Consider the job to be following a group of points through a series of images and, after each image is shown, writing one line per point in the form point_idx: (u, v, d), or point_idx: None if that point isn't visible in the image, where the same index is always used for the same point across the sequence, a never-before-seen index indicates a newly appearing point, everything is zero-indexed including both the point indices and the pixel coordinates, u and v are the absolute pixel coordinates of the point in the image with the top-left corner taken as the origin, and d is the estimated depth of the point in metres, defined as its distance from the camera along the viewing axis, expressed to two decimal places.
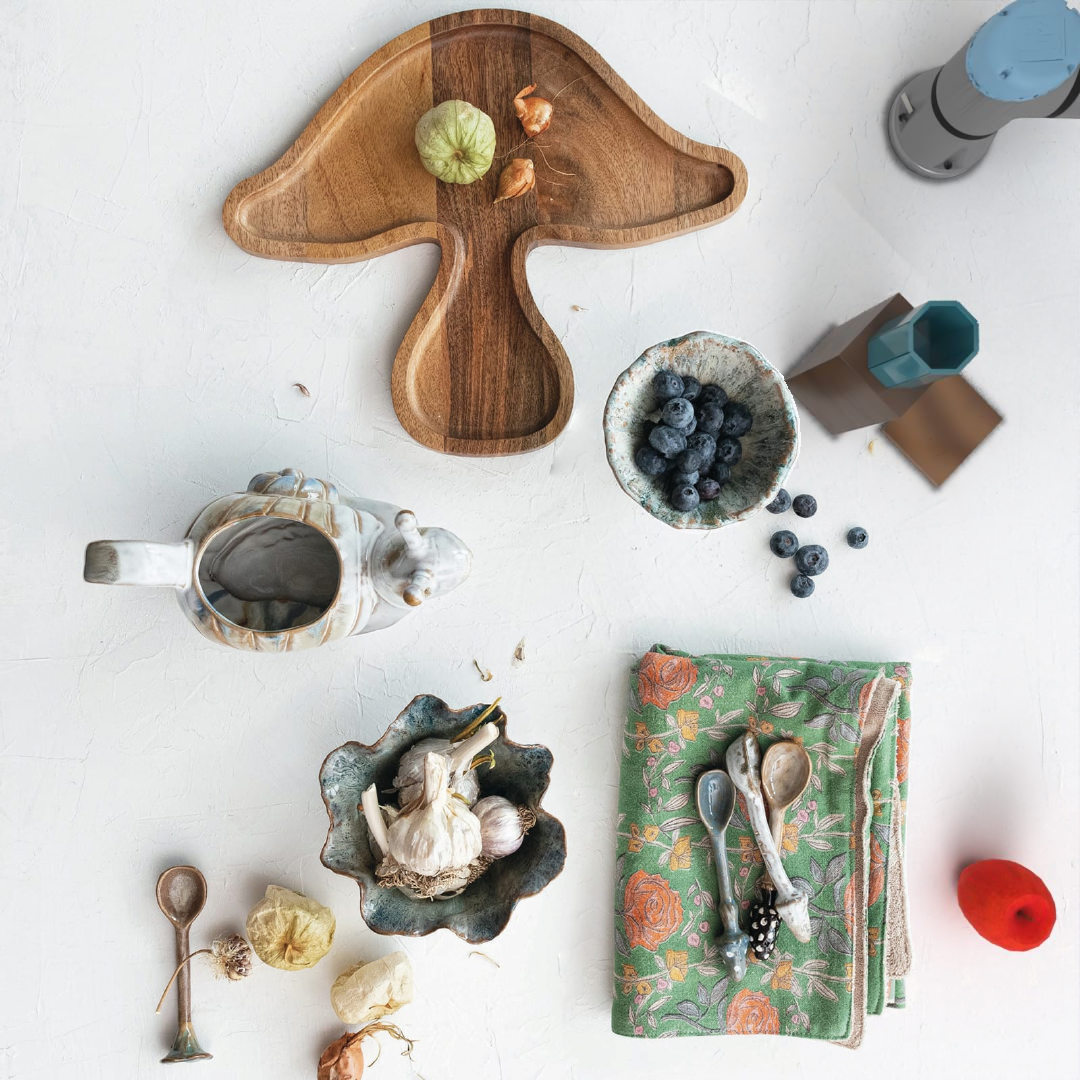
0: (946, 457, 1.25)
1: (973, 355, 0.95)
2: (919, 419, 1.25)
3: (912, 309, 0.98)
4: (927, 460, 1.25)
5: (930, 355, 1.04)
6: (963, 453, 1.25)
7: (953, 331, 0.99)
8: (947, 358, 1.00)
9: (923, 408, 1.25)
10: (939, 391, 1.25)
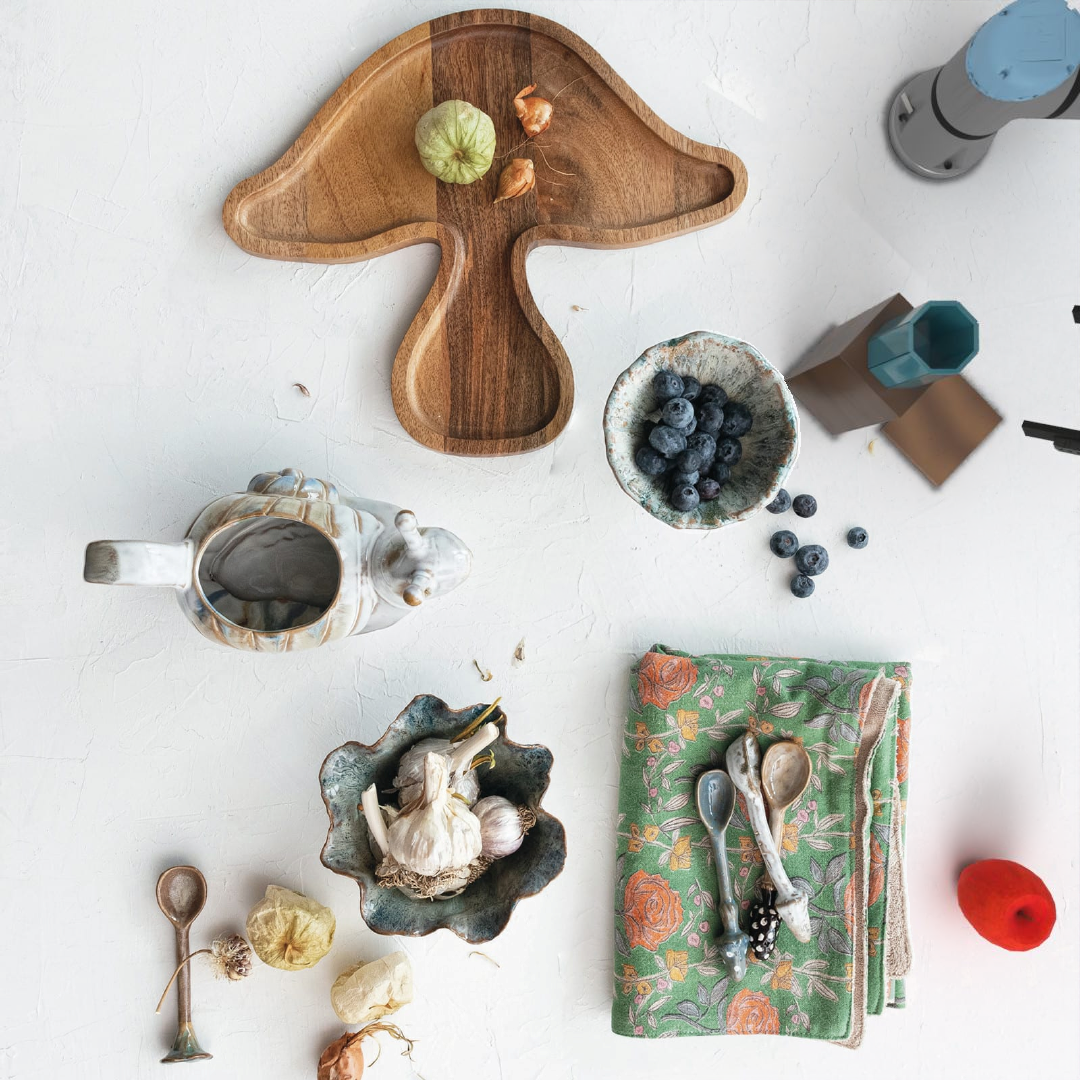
0: (946, 457, 1.25)
1: (973, 355, 0.95)
2: (919, 419, 1.25)
3: (912, 309, 0.98)
4: (927, 460, 1.25)
5: (930, 355, 1.04)
6: (963, 453, 1.25)
7: (953, 331, 0.99)
8: (947, 358, 1.00)
9: (923, 408, 1.25)
10: (939, 391, 1.25)
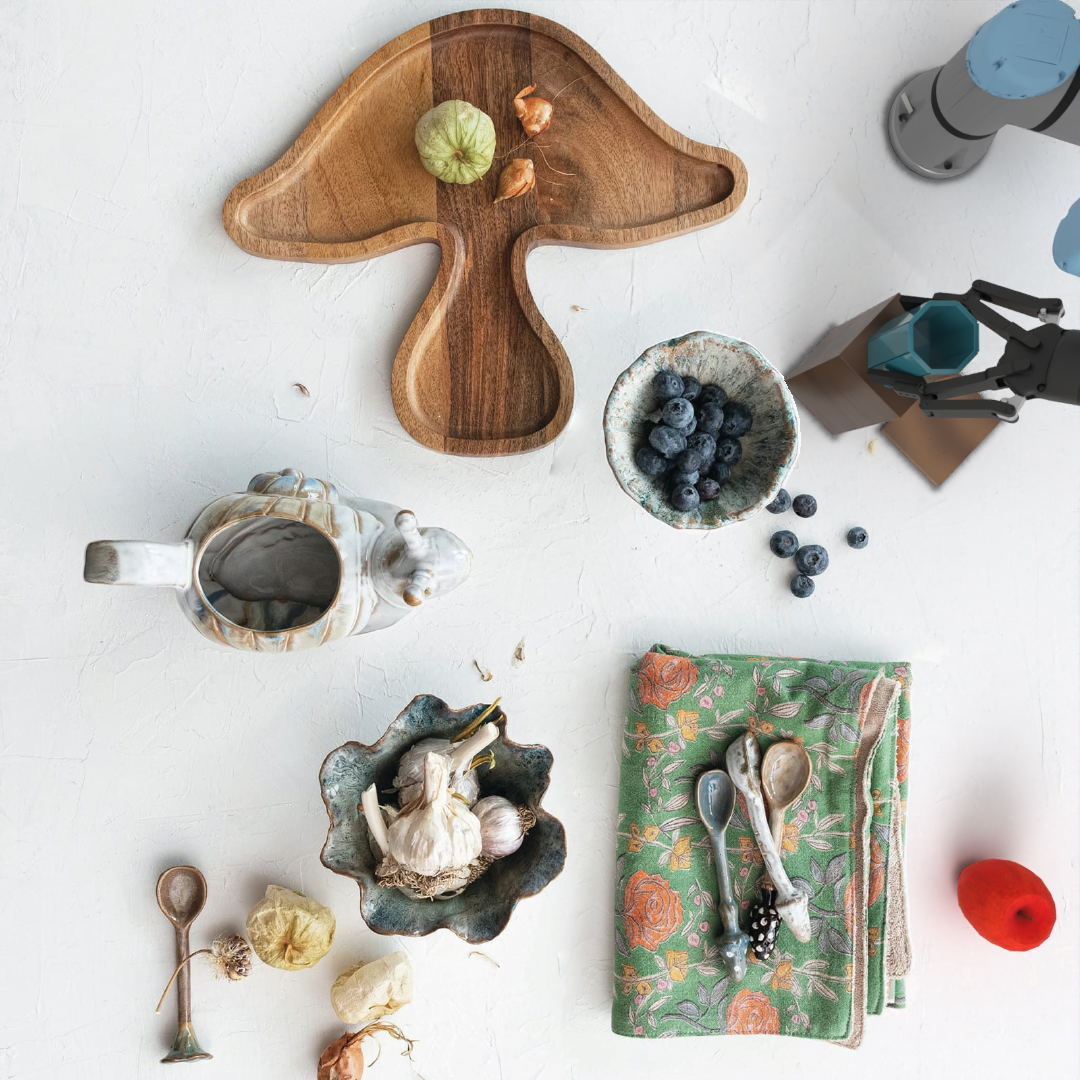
0: (946, 457, 1.25)
1: (973, 355, 0.95)
2: (919, 419, 1.25)
3: (912, 309, 0.98)
4: (927, 460, 1.25)
5: (930, 355, 1.04)
6: (963, 453, 1.25)
7: (953, 331, 0.99)
8: (947, 358, 1.00)
9: None
10: None
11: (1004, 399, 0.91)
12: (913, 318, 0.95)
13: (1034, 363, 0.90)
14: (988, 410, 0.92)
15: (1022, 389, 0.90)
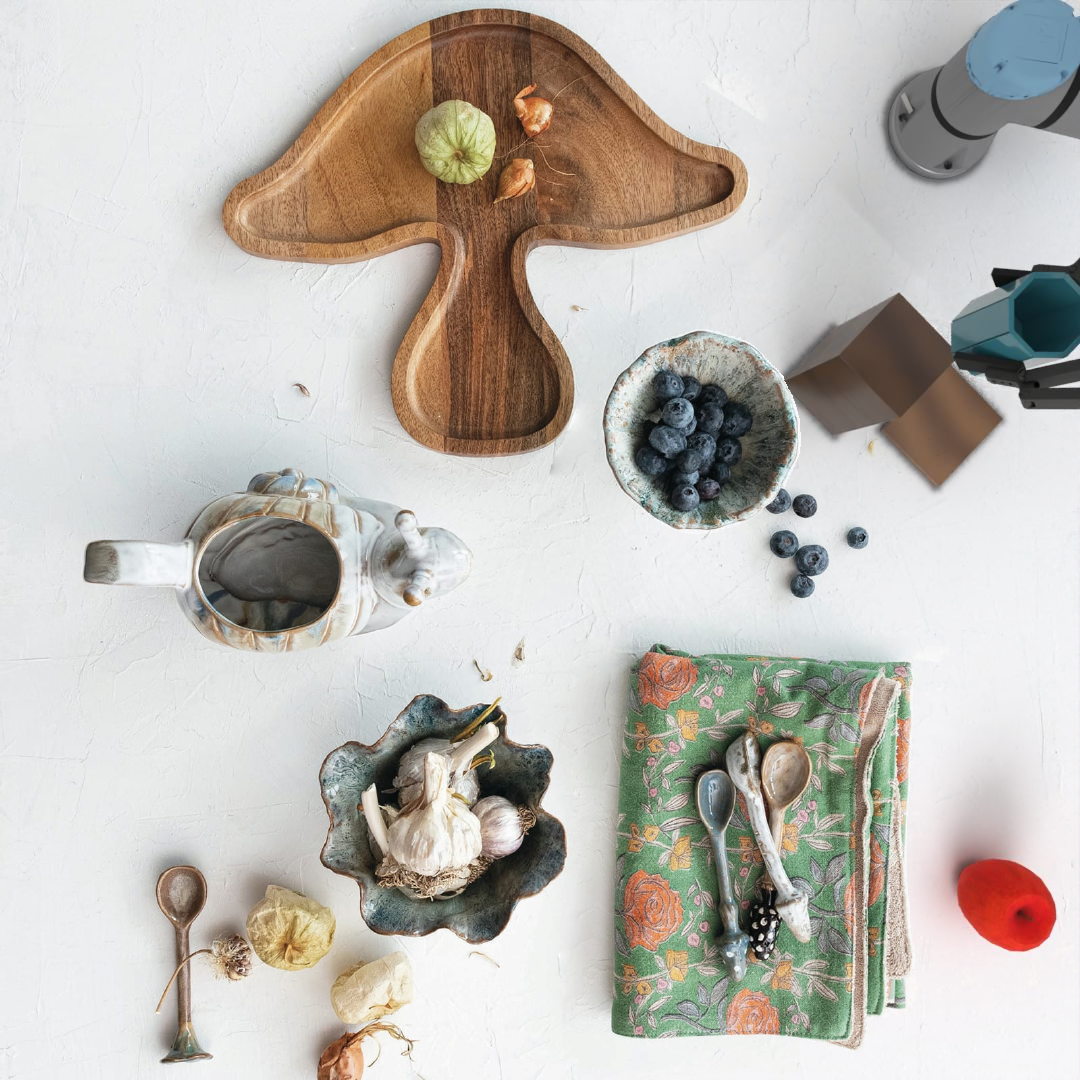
0: (946, 457, 1.25)
1: None
2: (919, 419, 1.25)
3: (1009, 283, 0.84)
4: (927, 460, 1.25)
5: (1023, 338, 0.91)
6: (963, 453, 1.25)
7: (1055, 309, 0.85)
8: (1046, 341, 0.87)
9: (923, 408, 1.25)
10: (939, 391, 1.25)
11: None
12: (1014, 292, 0.81)
13: None
14: None
15: None
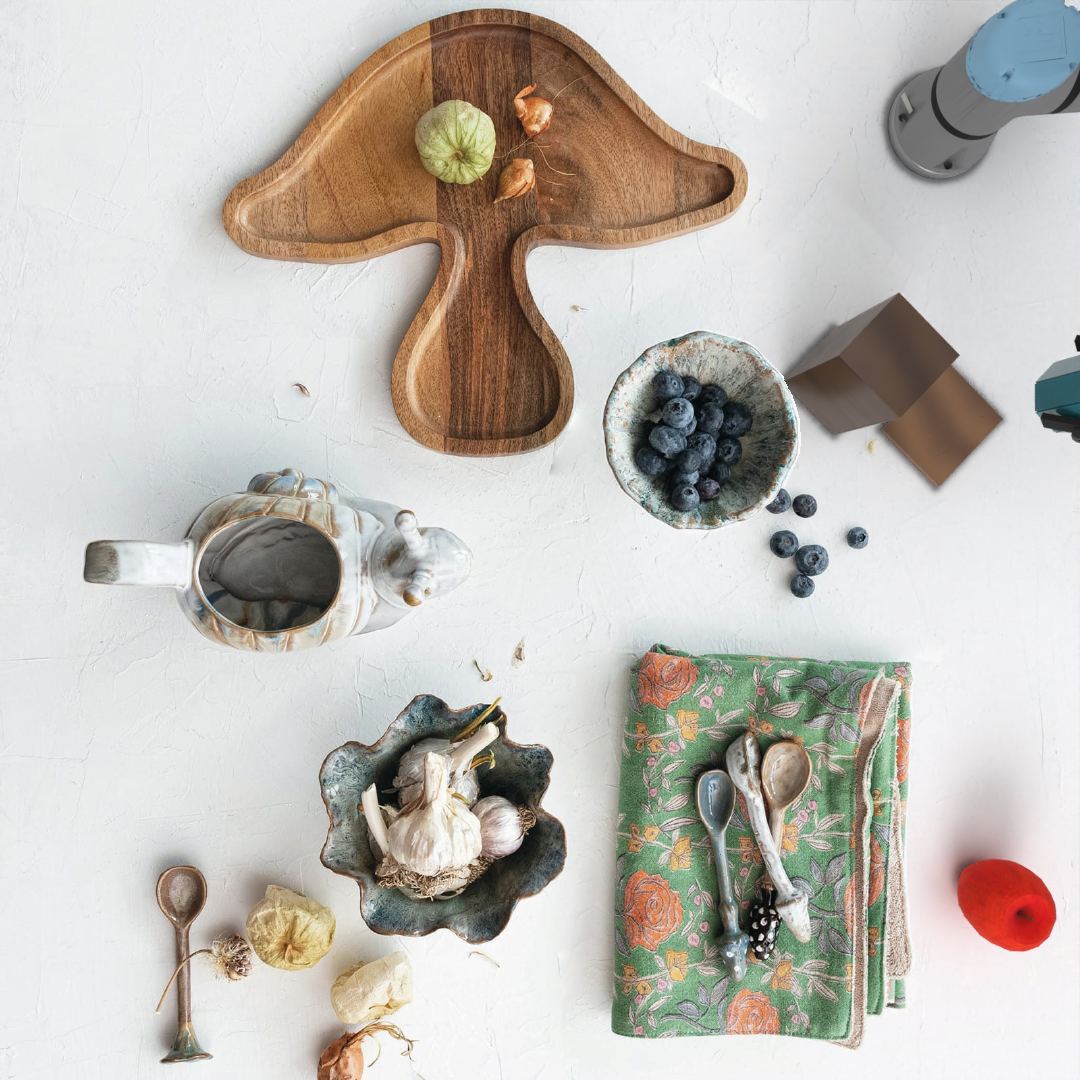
0: (946, 457, 1.25)
1: None
2: (919, 419, 1.25)
3: None
4: (927, 460, 1.25)
5: None
6: (963, 453, 1.25)
7: None
8: None
9: (923, 408, 1.25)
10: (939, 391, 1.25)
11: None
12: None
13: None
14: None
15: None
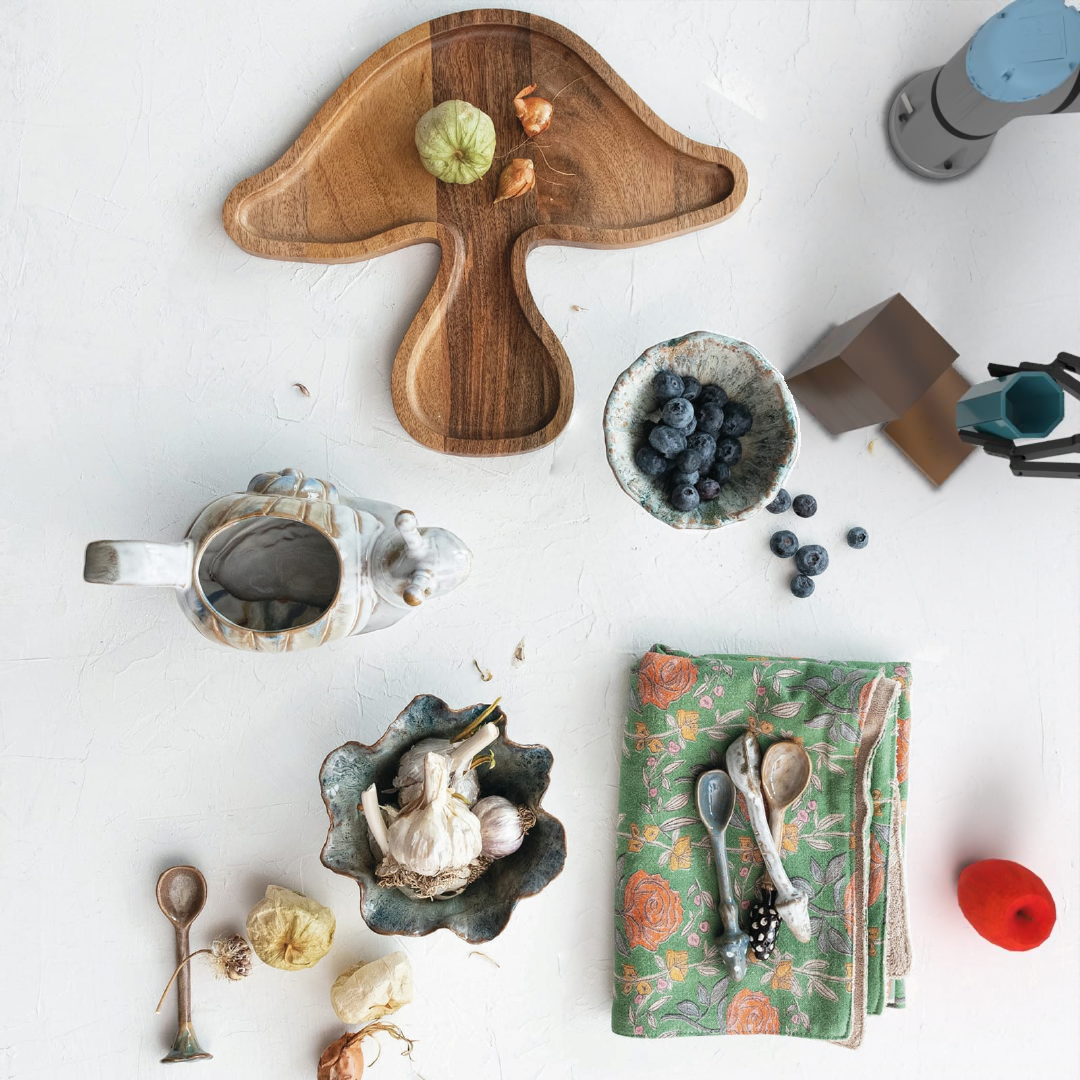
0: (946, 457, 1.25)
1: (1059, 421, 1.05)
2: (919, 419, 1.25)
3: (1001, 377, 1.08)
4: (927, 460, 1.25)
5: (1013, 416, 1.14)
6: (963, 453, 1.25)
7: (1038, 397, 1.09)
8: (1031, 420, 1.10)
9: (923, 408, 1.25)
10: (939, 391, 1.25)
11: None
12: (1005, 388, 1.04)
13: None
14: (1076, 473, 1.02)
15: None
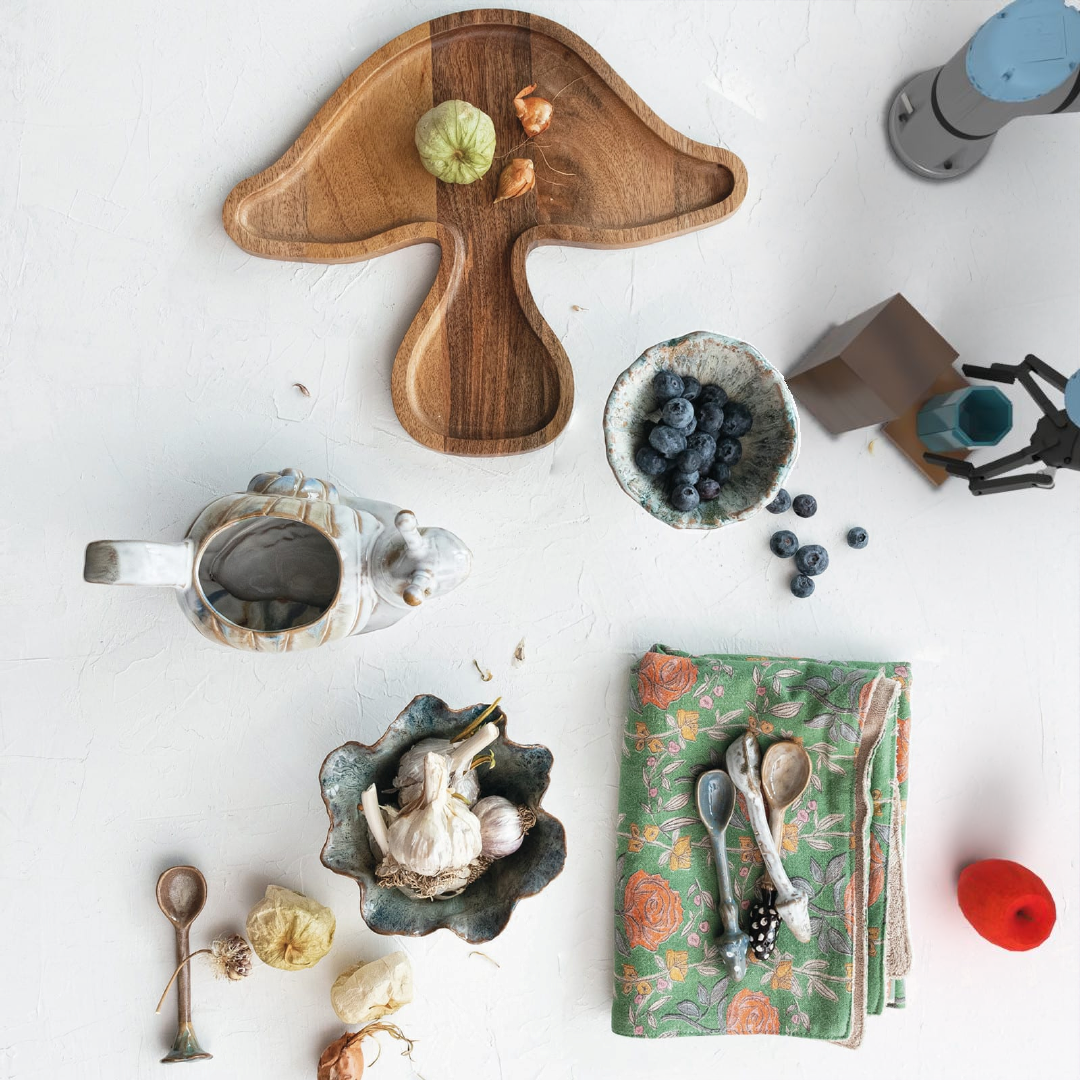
0: None
1: (1008, 430, 1.15)
2: None
3: (956, 390, 1.18)
4: None
5: (969, 425, 1.24)
6: (963, 453, 1.25)
7: (990, 408, 1.19)
8: (984, 429, 1.21)
9: None
10: (939, 391, 1.25)
11: (1040, 471, 1.10)
12: (958, 400, 1.15)
13: (1061, 439, 1.10)
14: (1029, 482, 1.11)
15: (1051, 461, 1.10)
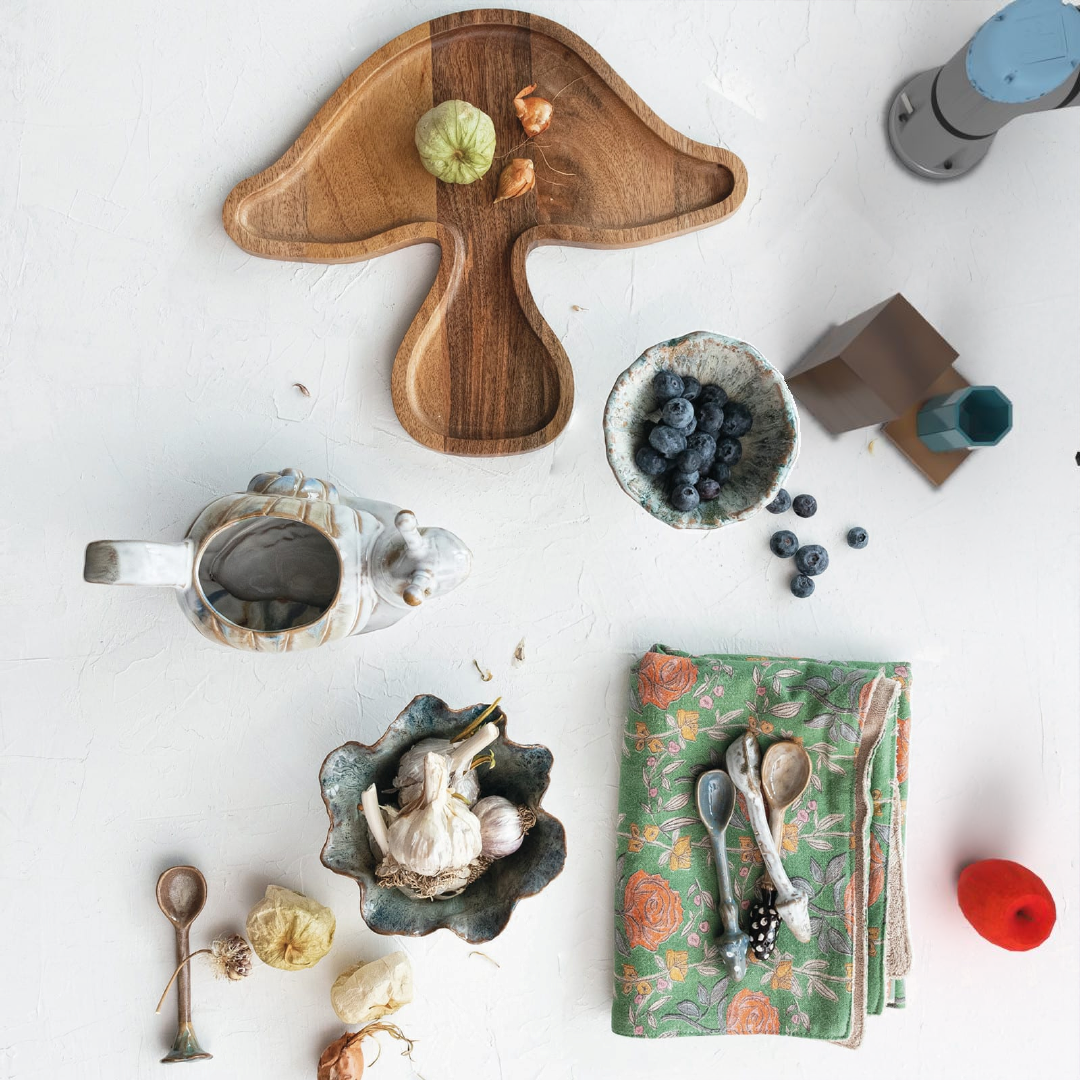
0: (946, 457, 1.25)
1: (1008, 430, 1.15)
2: None
3: (956, 390, 1.18)
4: (927, 460, 1.25)
5: (969, 425, 1.24)
6: (963, 453, 1.25)
7: (990, 408, 1.19)
8: (984, 429, 1.21)
9: None
10: (939, 391, 1.25)
11: None
12: (958, 400, 1.15)
13: None
14: None
15: None
